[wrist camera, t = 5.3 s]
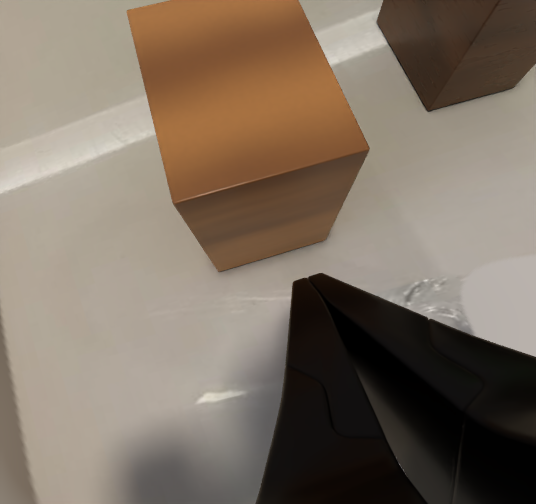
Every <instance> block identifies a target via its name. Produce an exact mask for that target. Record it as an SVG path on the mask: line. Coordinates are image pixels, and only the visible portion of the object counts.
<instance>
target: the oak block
mask: <svg viewBox="0 0 536 504" xmlns="http://www.w3.org/2000/svg"><path fill="white" fill-rule="evenodd" d="M127 16H128V20H129V24H130V28H131V32H132V36H133V40H134V45H135V49H136V53H137V57H138V61H139V65H140V69H141V74H142V78H143V82H144V86H145V90H146V94H147V98H148V103H149V107H150V111H151V115H152V119H153V123H154V127H155V132H156V136H157V140H158V144H159V148H160V152H161V156H162V161H163V165H164V169H165V173H166V177H167V181H168V185H169V190H170V194H171V198H172V202H173V204H174V206H175V207H176V209H177V210H178V212H179V213H180V215H181V216H182V218H183V219H184V221H185V222H186V224H187V225H188V227H189V228H190V230H191V231H192V233H193V234H194V236H195V237H196V239H197V240H198V242H199V243H200V245H201V246H202V248H203V249H204V251H205V252H206V254H207V255H208V257H209V258H210V260H211V261H212V263H213V264H214V266H215V267H216V269H217V270H218V272H221V271H224V270H227V269H231V268H234V267H237V266H241V265H244V264H247V263H251V262H254V261H257V260H261V259H264V258H267V257H271V256H274V255H277V254H281V253H284V252H287V251H290V250H294V249H297V248H300V247H304V246H307V245H310V244H314V243H317V242H320V241H324V240H326V238H327V236H328V234H329V232H330V230H331V228H332V226H333V224H334V222H335V220H336V218H337V215H338V213H339V211H340V209H341V207H342V205H343V203H344V201H345V199H346V197H347V195H348V193H349V191H350V189H351V187H352V185H353V183H354V181H355V179H356V177H357V174H358V172H359V170H360V168H361V166H362V164H363V162H364V160H365V158H366V156H367V154H368V152H369V150H370V148H369V146H368V144H367V142H366V140H365V138H364V136H363V133H362V131H361V129H360V127H359V125H358V123H357V121H356V119H355V117H354V115H353V113H352V111H351V109H350V106H349V104H348V102H347V100H346V98H345V96H344V94H343V92H342V90H341V88H340V86H339V84H338V82H337V79H336V77H335V75H334V73H333V71H332V69H331V67H330V65H329V63H328V61H327V59H326V57H325V55H324V52H323V50H322V48H321V46H320V44H319V42H318V40H317V38H316V36H315V34H314V32H313V30H312V28H311V25H310V23H309V21H308V19H307V17H306V15H305V13H304V11H303V9H302V7H301V5H300V3H299V1H298V0H170V1H166V2H161V3H157V4H152V5H148V6H143V7H139V8H135V9H130V10H127Z"/></svg>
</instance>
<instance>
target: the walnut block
mask: <svg viewBox="0 0 536 504" xmlns="http://www.w3.org/2000/svg"><path fill="white" fill-rule="evenodd" d="M377 23H378V25H379V27H380V28H381V30H382V32H383V34H384V35H385V37H386V39H387V41H388V42H389V44H390V46H391V48H392V49H393V51H394V53H395V55H396V56H397V58H398V60H399V61H400V63H401V65H402V67H403V68H404V70H405V72H406V74H407V75H408V77H409V79H410V81H411V82H412V84H413V86H414V88H415V89H416V91H417V93H418V95H419V96H420V98H421V100H422V102H423V103H424V105H425V107H426V109H427V110H428V111H430V110H433V109H437V108H441V107H444V106H448V105H451V104H455V103H459V102H462V101H466V100H470V99H473V98H477V97H481V96H484V95H488V94H492V93H495V92H499V91H503V90H506V89H510V88H513V87H515V85H516V84H517V83H518V82H519V81H520V80H521V79H522V78H523V77H524V76H525V75H526V73H527V72H528V71H529V70H530V69H531V68H532V67H533V66H534V65H535V64H536V0H383V3H382V6H381V10H380V13H379V16H378V19H377Z"/></svg>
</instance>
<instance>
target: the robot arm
mask: <svg viewBox="0 0 536 504" xmlns="http://www.w3.org/2000/svg"><path fill="white" fill-rule="evenodd" d="M285 366H286V367H285V373H284V383H283V390H282V398H281V403H280V408H279V413H278V418H277V422H276V426H275V430H274V434H273V438H272V443H271V447H270V451H269V455H268V459H267V463H266V467H265V471H264V475H263V479H262V483H261V487H260V490H259V494H258V497H257V500H256V504H536V357H534V356H531V355H528V354H525V353H522V352H519V351H516V350H513V349H510V348H507V347H504V346H501V345H498V344H496V343H493V342H490V341H487V340H484V339H481V338H478V337H476V336H473V335H470V334H467V333H465V332H462V331H460V330H457V329H455V328H452V327H450V326H447V325H445V324H442V323H440V322H438V321H435V320H433V319H429V320H428V318H427V317H425V316H423V315H421V314H418V313H416V312H413V311H411V310H409V309H406V308H404V307H402V306H399V305H397V304H394V303H392V302H390V301H387V300H385V299H383V298H380V297H378V296H375V295H373V294H371V293H368V292H366V291H363V290H361V289H359V288H356V287H354V286H352V285H349V284H347V283H344V282H342V281H340V280H337V279H335V278H332V277H330V276H328V275H325V274H323V273H319V274H316V275H313V276H309V277H308V279H307V278H303V279H300V280H296V281H294V282H293V286H292V297H291V308H290V319H289V330H288V342H287V353H286V364H285ZM396 458H397V459H396ZM397 460H398V461H397ZM398 462H399V463H400V465H401V466H400V465H399V463H398ZM401 467H402V468H403V470H404V471H403V470H402V468H401ZM404 472H405V473H406V474H405V473H404ZM406 475H407V476H406Z"/></svg>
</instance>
